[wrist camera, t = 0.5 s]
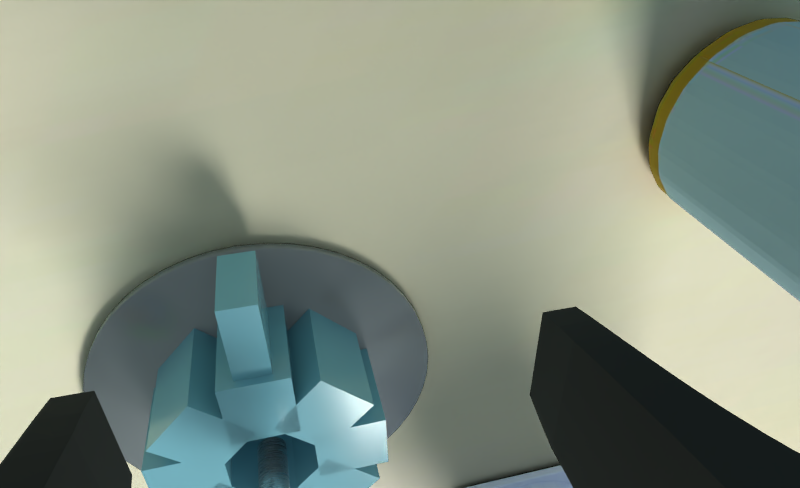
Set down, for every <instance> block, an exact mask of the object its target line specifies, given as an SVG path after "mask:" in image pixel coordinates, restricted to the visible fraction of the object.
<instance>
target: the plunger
mask: <svg viewBox="0 0 800 488" xmlns="http://www.w3.org/2000/svg"><path fill="white" fill-rule="evenodd" d="M257 452H258V479H259V488H290V482H289V471H288V459H287V447H286V442H285V441H284V440H283V439H281V438H278V437H271V438H267V439H264V440H263V441H261V442H260V443H259V445H258V447H257Z"/></svg>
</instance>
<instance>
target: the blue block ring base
mask: <svg viewBox="0 0 800 488" xmlns="http://www.w3.org/2000/svg"><path fill="white" fill-rule="evenodd" d="M427 364H428V352H427V342H426V339H425V335H424V332H423V328H422V325H421V323H420V321H419V319H418V316H417V314H416V312H415V310H414V308H413V307H412V305H411V304H410V302H409V301H408V300H407V298H406V297H405V295H404V294H403V293H402V292H401V291H400V290H399V289H398V288H397V287H396V286H395V285H394V284H393V283H392V282H391V281H390V280H388V279H387V278H386V277H384V276H383V275H382V274H380V273H379V272H377V271H376V270H375V269H373V268H371V267H369V266H367V265H365V264H363V263H361V262H360V261H358V260H355V259H353V258H350V257H347V256H345V255H342V254H339V253H337V252H333V251H329V250H325V249H321V248H317V247H311V246H303V245H295V244H273V243H262V244H252V245H241V246H234V247H230V248H225V249H220V250H215V251H211V252H208V253H204V254H201V255H198V256H195V257H192V258H189V259H186V260H184V261H182V262H180V263H177V264H175V265H173V266H171V267H168V268H166V269H164V270H162V271H161V272H159V273H158V274H156V275H154V276H153V277H151V278H149V279H148V280H146V281H144V282H143V283H142V284H140V285H139V286H138V287H137V288H135V289H134V290H133V291H132V292H130V293H129V294H128V295H127V296H125V297H124V298H123V299H122V300H121V302H120V303H119V304H118V305H117V306H116V307H115V308H114V309H113V310H112V311H111V312H110V314H109V315H108V316H107V318H106V319H105V321H104V322H103V324H102V325H101V327H100V328H99V330H98V332H97V334H96V336H95V339H94V341H93V343H92V345H91V348H90V351H89V354H88V358H87V362H86V367H85V371H84V386H83V391H84V392H89V391H95V393H96V395H97V398H98V400H99V402H100V404H101V407H102V409H103V411H104V413H105V416H106V418H107V420H108V422H109V425H110V427H111V429H112V431H113V434H114V436H115V438H116V440H117V443H118V445H119V447H120V449H121V452H122V454H123V456H124V458H125V461H127V462H128V463H130V464H132V465H133V466H135V467H136V468H138V469H139V470H141V472H142V474H143V476H144V478H145V481H146V483H147V485H148V487H149V488H259V479H258V452H257V447H258V445H259V443H260V442H261V441H263V440H264V439H267V438H271V437H278V438H281V439H283V440H284V441H285V442H286V447H287V459H288V471H289V482H290V488H369V487H370V486H372V485H373V484H374V483H375V482H376V481H377V480H378V479H379V478H380V477H379V473H378V468H377V464H379V463H384V462H388V446H387V439H388V438H389V437H390V436H391V435H392V434H393V433H394V432H395V431H396V430H397V429H398V428H399V427H400V425H401V424H402V423H403V421H404V420H405V419H406V418H407V416H408V415H409V414H410V412H411V410H412V409H413V407H414V405H415V404H416V402H417V400H418V398H419V395H420V393H421V391H422V388H423V385H424V381H425V377H426V373H427Z"/></svg>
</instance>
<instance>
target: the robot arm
mask: <svg viewBox="0 0 800 488" xmlns="http://www.w3.org/2000/svg"><path fill="white" fill-rule="evenodd" d="M530 396H531V399H532V401H533V404H534V407H535V409H536V412H537V414H538V417H539V419H540V422H541V424H542V427H543V429H544V431H545V434H546V436H547V438H548V441H549V443H550V446H551V448H552V450H553V452H554V454H555V455H556V457H557V459H558V461H559V463H560V465H559V466H555V467H551V468H546V469H542V470H538V471H534V472H529V473H525V474H521V475H517V476H512V477H508V478H504V479H500V480H495V481H491V482H487V483H482V484H478V485H474V486H470V487H465V488H800V453H798V452H796V451H794V450H792V449H791V448H789V447H787V446H785V445H784V444H782V443H780V442H778V441H777V440H775V439H773V438H771V437H770V436H768V435H766V434H765V433H763V432H761V431H760V430H758V429H757V428H755V427H753V426H752V425H750V424H748V423H747V422H745V421H744V420H742V419H740V418H739V417H737V416H735V415H734V414H732V413H731V412H729V411H727V410H726V409H724V408H722V407H721V406H719V405H718V404H716V403H715V402H713V401H712V400H710V399H708V398H707V397H705V396H704V395H702V394H701V393H699V392H698V391H696V390H695V389H693V388H692V387H690V386H689V385H687V384H686V383H684V382H683V381H681V380H680V379H678V378H677V377H675V376H674V375H672V374H671V373H670V372H668V371H667V370H665V369H664V368H662V367H661V366H659V365H658V364H657V363H655V362H654V361H652V360H651V359H649V358H648V357H646V356H645V355H644V354H642V353H641V352H639V351H638V350H637V349H635V348H634V347H632V346H631V345H630V344H628V343H627V342H625V341H624V340H622V339H621V338H620V337H618V336H617V335H615V334H614V333H613V332H611V331H610V330H608V329H607V328H606V327H604V326H603V325H601V324H600V323H599V322H597V321H596V320H594V319H593V318H591V317H590V316H589V315H587V314H586V313H584V312H583V311H581V310H580V309H578V308H577V307H571V308H566V309H560V310H554V311H548V312H543V315H542V321H541V327H540V334H539V340H538V346H537V353H536V359H535V366H534V372H533V378H532V385H531V391H530ZM131 482H132V474H131V472H130V469H129V467H128V465H127V463H126V461H125V458H124V456H123V454H122V452H121V449H120V447H119V445H118V443H117V440H116V438H115V436H114V434H113V431H112V429H111V427H110V425H109V422H108V420H107V418H106V416H105V413H104V411H103V409H102V407H101V404H100V402H99V400H98V398H97V395H96V393H95V391H89V392H84V393H78V394H72V395H66V396H61V397H55V398H50V399H49V401H48V402H47V403H46V404H45V405H44V407H43V408H42V409H41V411H40V412H39V413H38V415H37V416H36V417H35V418H34V420H33V421H32V422H31V424H30V425H29V426H28V428H27V429H26V430H25V432H24V433H23V434H22V436H21V437H20V438H19V440H18V441H17V442H16V444H15V445H14V446H13V448H12V449H11V450H10V452H9V453H8V454H7V456H6V457H5V458H4V460H3V461H2V462H1V464H0V488H131Z"/></svg>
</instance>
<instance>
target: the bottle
mask: <svg viewBox="0 0 800 488" xmlns="http://www.w3.org/2000/svg"><path fill="white" fill-rule="evenodd" d="M649 165H650V169H651V172H652V174H653V176H654V178H655V181H656V183H657V185H658V186H659V188H660V189H661V190H662V191H663V192H665V193H666V194H667V195H668V196H669V197H670V198H671V199H672V200H673V201H674V202H676V203H677V204H678V205H679V206H680V207H682V208H683V209H684V210H685V211H687V212H688V213H689V214H690V215H692V216H693V217H694V218H696V219H697V220H698V221H699V222H701V223H702V224H703V225H704V226H706V227H707V228H708V229H709V230H711V231H712V232H713V233H714V234H716V235H717V236H718V237H719V238H721V239H722V240H723V241H724V242H726V243H727V244H728V245H729V246H731V247H732V248H733V249H734V250H736V251H737V252H738V253H739V254H741V255H742V256H743V257H744V258H746V259H747V260H748V261H750V262H751V263H752V264H753V265H755V266H756V267H757V268H758V269H760V270H761V271H762V272H763V273H765V274H766V275H767V276H768V277H770V278H771V279H772V280H773V281H775V282H776V283H777V284H778V285H780V286H781V287H782V288H783V289H785V290H786V291H787V292H788V293H790V294H791V295H792V296H793V297H795V298H796V299H797V300H799V301H800V21H797V20H794V19H789V18H771V19H761V20H757V21H754V22H751V23H749V24H746V25H743V26H741V27H738V28H735V29H733V30H731V31H729V32H728V33H726V34H724V35H723V36H722V37H720V38H719V39H717V40H716V41H714V42H713V43H712V44H710V45H709V46H707V47H706V48H705V49H703V50H702V51H701V52H699V53H698V54H697V55H696V56H695V57H694V58H692V59H691V61H690V62H689V63H688V64H687V65H686V66H685V67H684V68H683V69H682V71H681V72H680V73H679V74H678V75H677V76H676V77H675V78H674V80H673V81H672V82H671V84H670V86H669V88H668V90H667V91H666V93H665V95H664V97H663V98H662V100H661V102H660V104H659V106H658V109H657V112H656V116H655V119H654V123H653V127H652V130H651V134H650V138H649Z"/></svg>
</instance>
